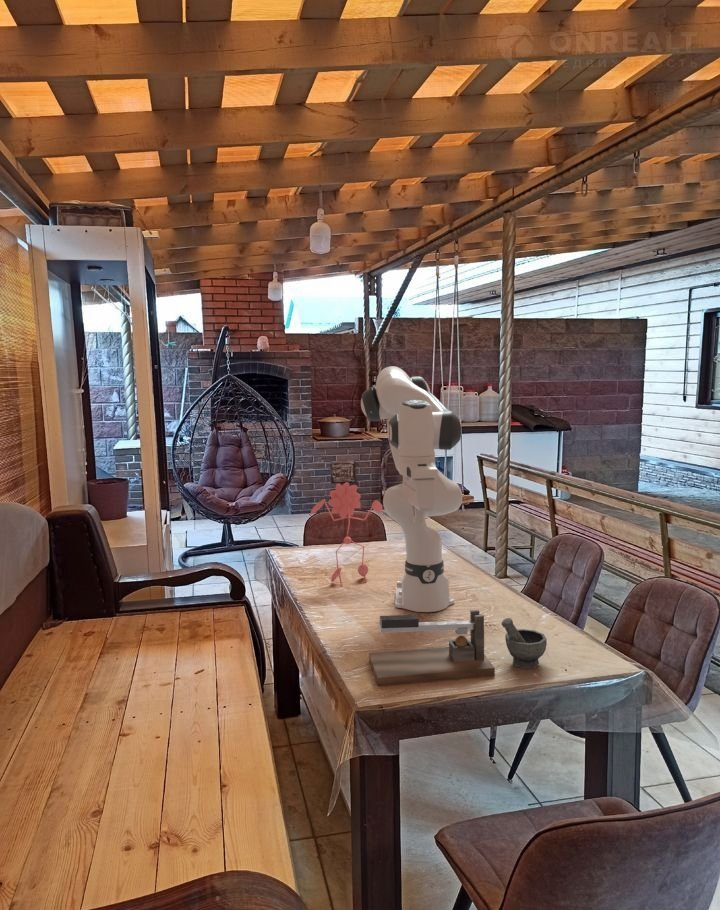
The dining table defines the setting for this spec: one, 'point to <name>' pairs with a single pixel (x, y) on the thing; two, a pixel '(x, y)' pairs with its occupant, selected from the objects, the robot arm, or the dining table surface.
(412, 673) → the press base
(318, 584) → the dining table surface
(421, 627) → the lever
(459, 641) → the nut
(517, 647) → the mortar and pestle
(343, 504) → the figurine
